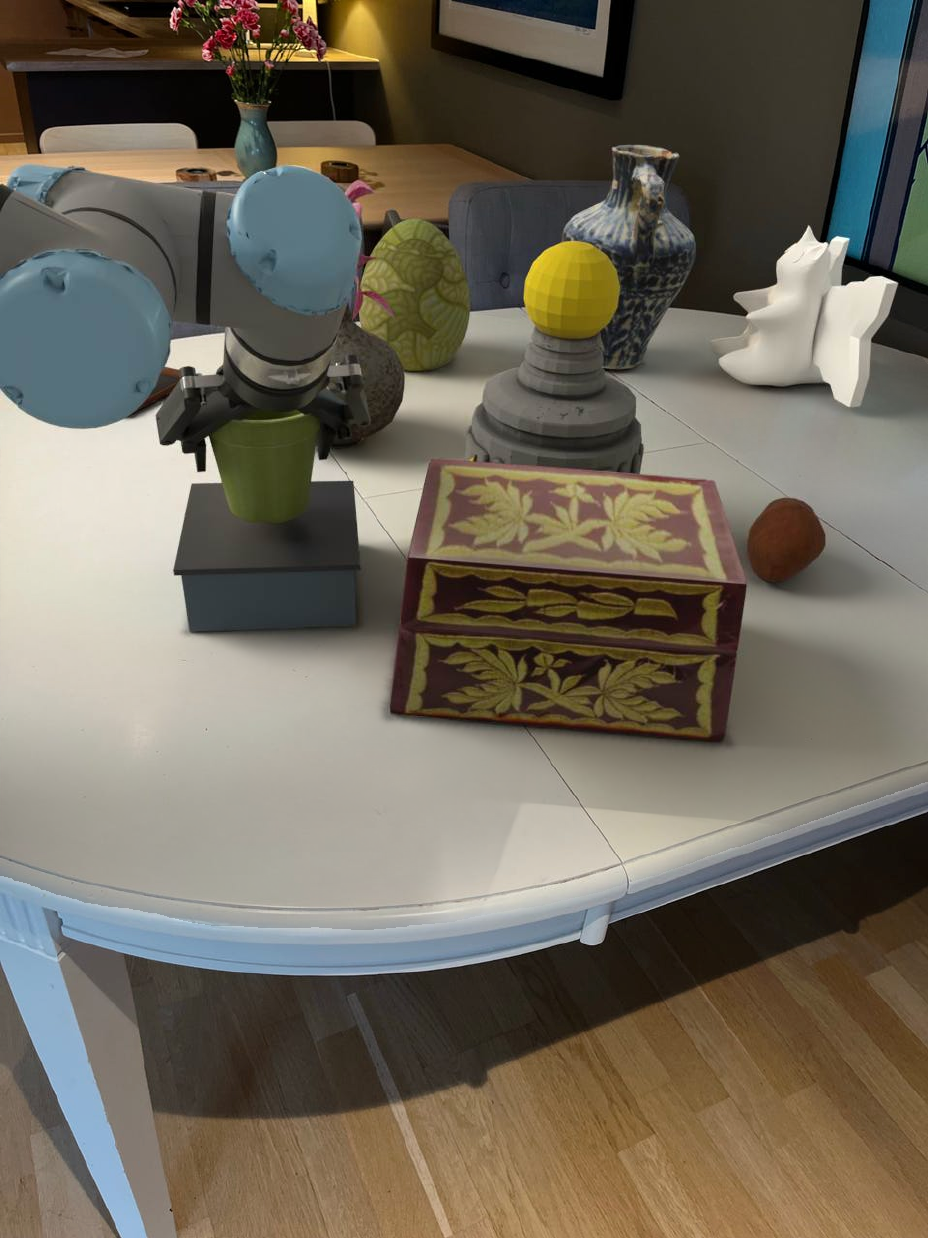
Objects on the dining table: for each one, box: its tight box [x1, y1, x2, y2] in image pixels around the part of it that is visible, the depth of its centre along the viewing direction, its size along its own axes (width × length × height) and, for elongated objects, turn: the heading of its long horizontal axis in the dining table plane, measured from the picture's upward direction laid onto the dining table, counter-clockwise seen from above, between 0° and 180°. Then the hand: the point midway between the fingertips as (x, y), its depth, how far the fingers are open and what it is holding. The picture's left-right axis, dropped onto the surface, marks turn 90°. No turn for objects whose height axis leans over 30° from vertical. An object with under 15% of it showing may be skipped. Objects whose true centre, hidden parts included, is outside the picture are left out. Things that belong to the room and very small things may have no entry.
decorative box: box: [389, 458, 748, 742], centre depth 81 cm, size 28×19×15 cm
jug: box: [561, 144, 697, 370], centre depth 140 cm, size 21×19×30 cm
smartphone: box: [132, 366, 180, 414], centre depth 129 cm, size 7×1×15 cm
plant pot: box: [208, 386, 329, 524], centre depth 85 cm, size 12×12×11 cm
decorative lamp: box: [464, 241, 645, 474], centre depth 97 cm, size 19×19×30 cm
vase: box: [326, 176, 406, 449], centre depth 113 cm, size 17×17×30 cm
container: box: [172, 480, 362, 633], centre depth 91 cm, size 16×16×7 cm
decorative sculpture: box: [358, 218, 471, 372], centre depth 139 cm, size 16×16×20 cm
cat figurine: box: [709, 225, 899, 408], centre depth 139 cm, size 25×21×21 cm
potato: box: [746, 497, 827, 583], centre depth 98 cm, size 8×12×8 cm, turn 165°
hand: (261, 451), depth 88 cm, fingers closed on plant pot, 10 cm apart
